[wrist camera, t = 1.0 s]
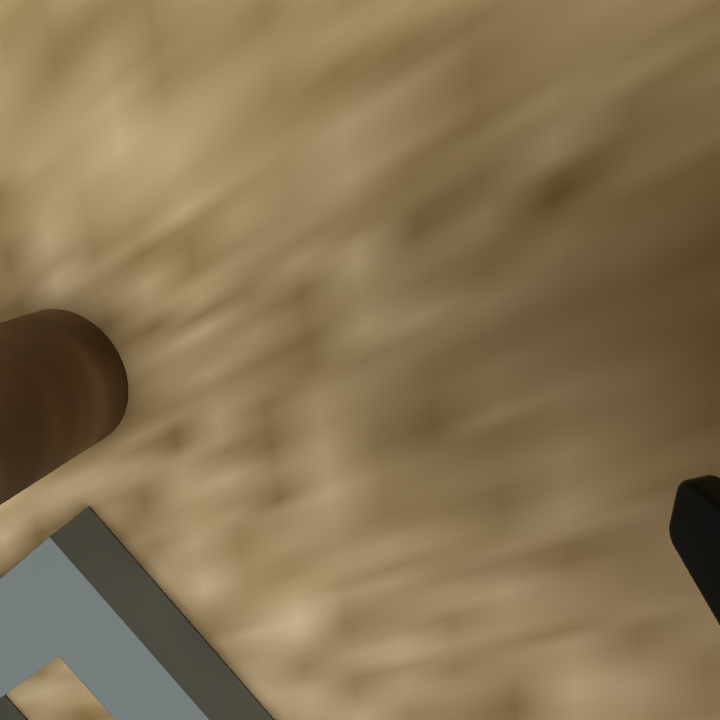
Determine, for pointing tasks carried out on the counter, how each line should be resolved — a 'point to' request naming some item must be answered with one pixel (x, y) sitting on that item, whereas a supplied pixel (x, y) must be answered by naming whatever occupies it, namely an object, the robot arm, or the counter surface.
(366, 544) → the counter surface
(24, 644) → the frame
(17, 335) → the walnut peg
